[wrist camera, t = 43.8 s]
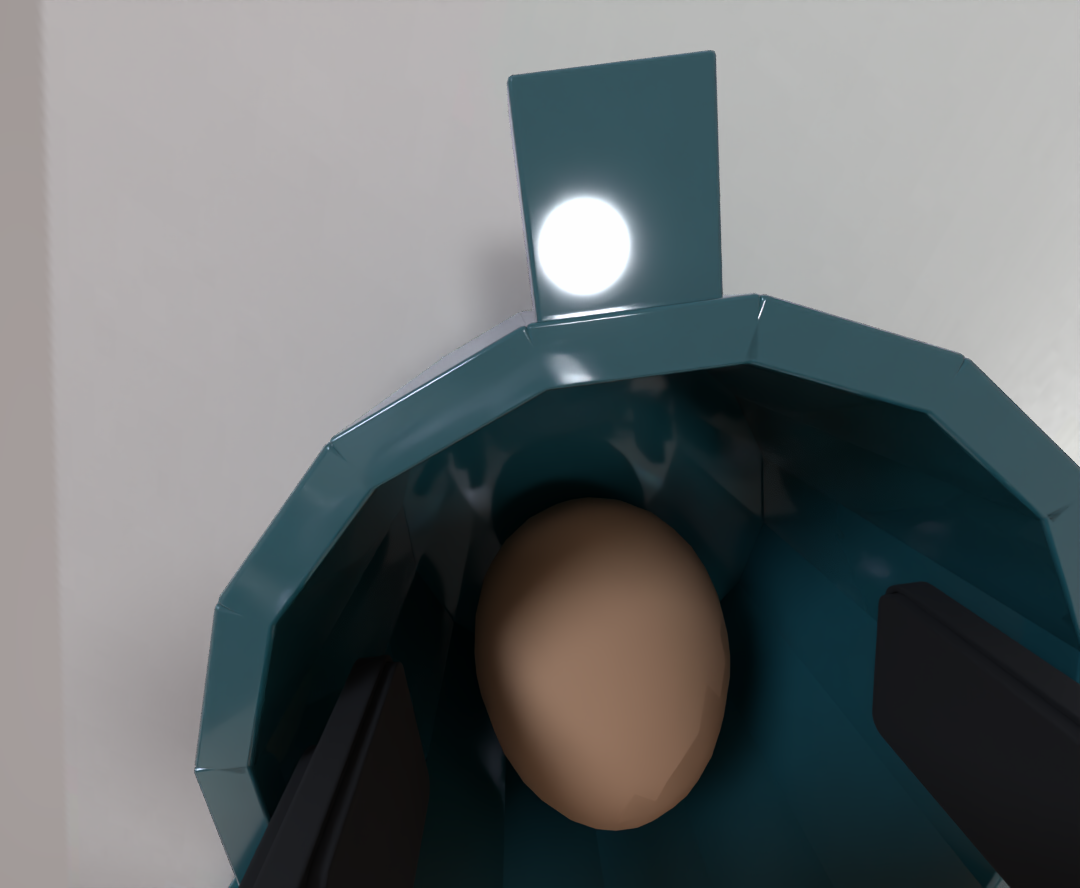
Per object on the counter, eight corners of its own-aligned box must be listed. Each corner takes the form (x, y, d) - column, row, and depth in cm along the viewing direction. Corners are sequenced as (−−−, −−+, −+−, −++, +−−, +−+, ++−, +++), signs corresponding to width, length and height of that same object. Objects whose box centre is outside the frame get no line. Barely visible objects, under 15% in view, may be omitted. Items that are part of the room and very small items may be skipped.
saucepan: (439, 751, 20) (361, 1202, 10) (324, 241, 15) (-67, 113, 5) (778, 704, 20) (1038, 1102, 10) (778, 182, 15) (1297, -57, 5)
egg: (452, 486, 16) (383, 779, 9) (655, 418, 14) (761, 701, 7) (533, 613, 19) (529, 899, 12) (705, 567, 18) (810, 860, 11)
